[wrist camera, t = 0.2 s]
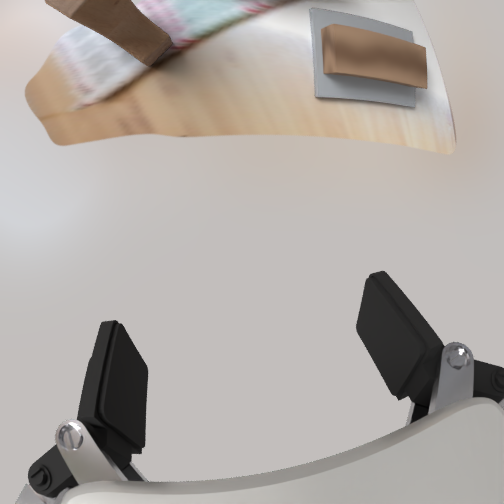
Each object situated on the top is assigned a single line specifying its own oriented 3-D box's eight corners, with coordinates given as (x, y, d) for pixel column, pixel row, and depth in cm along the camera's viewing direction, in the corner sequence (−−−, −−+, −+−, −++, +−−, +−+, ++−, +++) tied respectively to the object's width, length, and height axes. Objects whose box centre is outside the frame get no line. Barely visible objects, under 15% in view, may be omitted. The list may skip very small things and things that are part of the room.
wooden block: (174, 43, 27) (151, -2, 12) (149, 67, 28) (106, 43, 13) (129, 10, 22) (81, -41, 7) (105, 34, 24) (41, 0, 8)
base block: (320, 29, 27) (333, 23, 24) (409, 48, 29) (425, 47, 26) (323, 73, 31) (336, 72, 28) (411, 86, 33) (427, 88, 29)
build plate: (309, 9, 26) (311, 7, 25) (408, 32, 28) (412, 31, 27) (314, 96, 34) (317, 96, 33) (411, 106, 36) (415, 107, 35)
